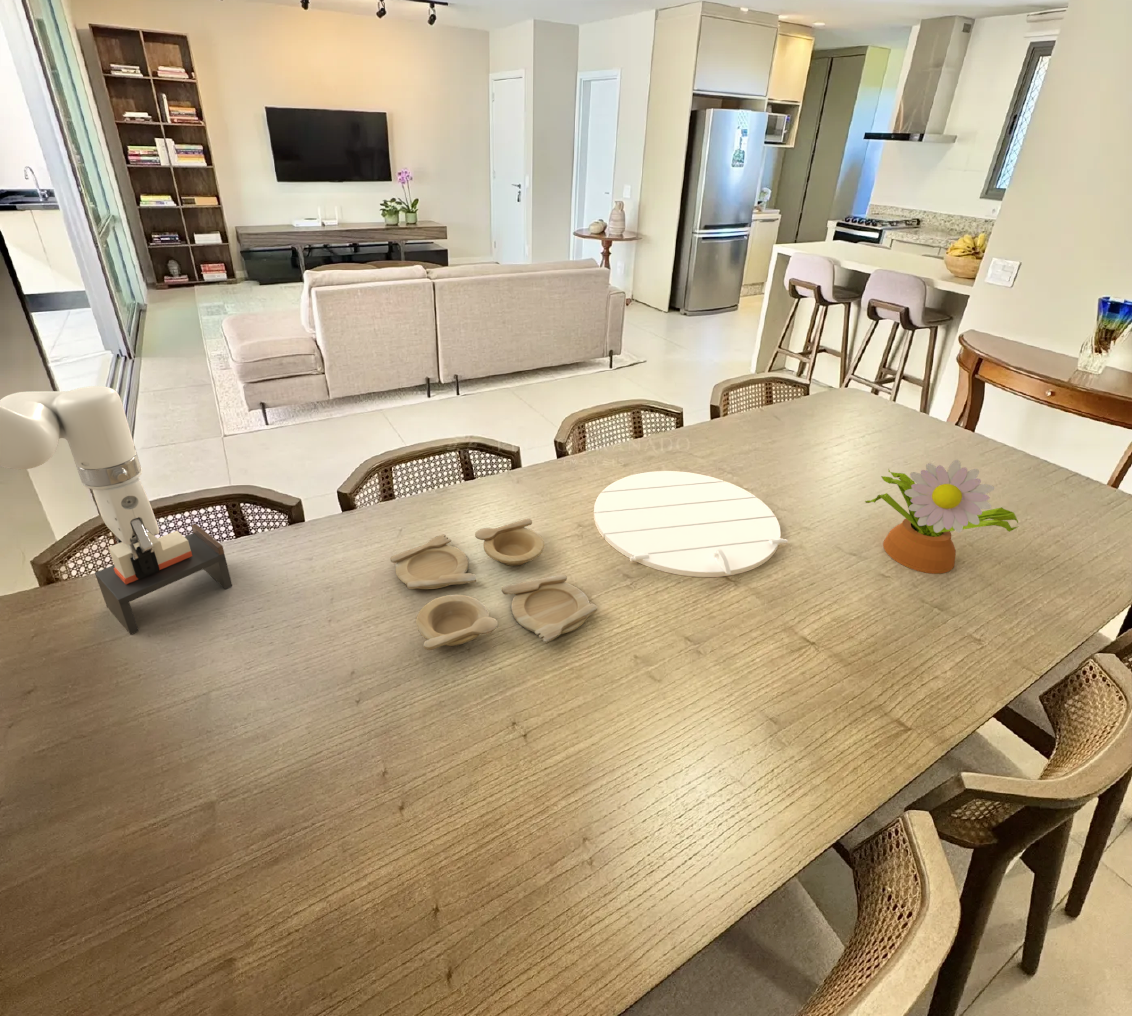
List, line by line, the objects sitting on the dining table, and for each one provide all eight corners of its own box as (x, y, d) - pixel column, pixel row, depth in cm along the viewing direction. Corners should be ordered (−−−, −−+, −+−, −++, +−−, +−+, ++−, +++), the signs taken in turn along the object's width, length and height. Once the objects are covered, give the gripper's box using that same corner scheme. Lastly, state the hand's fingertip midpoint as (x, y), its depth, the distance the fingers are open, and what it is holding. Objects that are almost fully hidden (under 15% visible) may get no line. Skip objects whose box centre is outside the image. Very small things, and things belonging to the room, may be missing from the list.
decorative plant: (849, 565, 123) (883, 450, 112) (855, 507, 143) (884, 405, 132) (1009, 608, 114) (1063, 487, 103) (992, 539, 134) (1036, 432, 122)
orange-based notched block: (125, 584, 99) (117, 558, 97) (115, 573, 102) (106, 547, 100) (192, 556, 106) (185, 531, 104) (181, 545, 109) (174, 521, 107)
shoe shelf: (130, 635, 100) (115, 591, 96) (106, 606, 105) (91, 564, 101) (232, 586, 111) (222, 545, 107) (206, 562, 116) (195, 523, 113)
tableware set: (608, 631, 104) (610, 612, 103) (433, 687, 93) (431, 666, 91) (527, 522, 132) (527, 505, 131) (385, 554, 121) (383, 536, 119)
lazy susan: (820, 567, 122) (824, 552, 121) (628, 591, 114) (629, 576, 112) (727, 469, 157) (729, 457, 156) (574, 482, 148) (575, 469, 147)
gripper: (161, 478, 93) (189, 578, 101) (116, 443, 102) (146, 537, 110) (102, 498, 87) (137, 602, 95) (61, 459, 97) (96, 557, 105)
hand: (141, 566), depth 103 cm, fingers closed on orange-based notched block, 4 cm apart
